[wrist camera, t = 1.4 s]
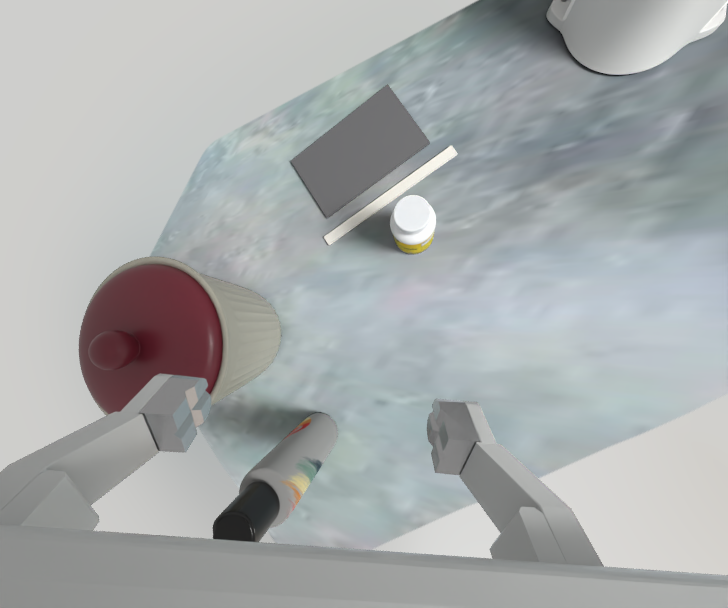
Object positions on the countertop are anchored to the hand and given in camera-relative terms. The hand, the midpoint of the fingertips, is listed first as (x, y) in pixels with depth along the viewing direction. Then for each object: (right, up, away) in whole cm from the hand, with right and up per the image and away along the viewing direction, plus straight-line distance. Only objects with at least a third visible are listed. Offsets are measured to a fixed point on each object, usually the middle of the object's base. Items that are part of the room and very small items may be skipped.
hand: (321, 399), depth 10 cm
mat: (0, +26, +31) cm, 40 cm away
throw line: (+5, +19, +30) cm, 36 cm away
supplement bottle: (+9, +13, +29) cm, 33 cm away
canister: (-17, -1, +34) cm, 38 cm away
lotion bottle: (-5, -16, +31) cm, 35 cm away
